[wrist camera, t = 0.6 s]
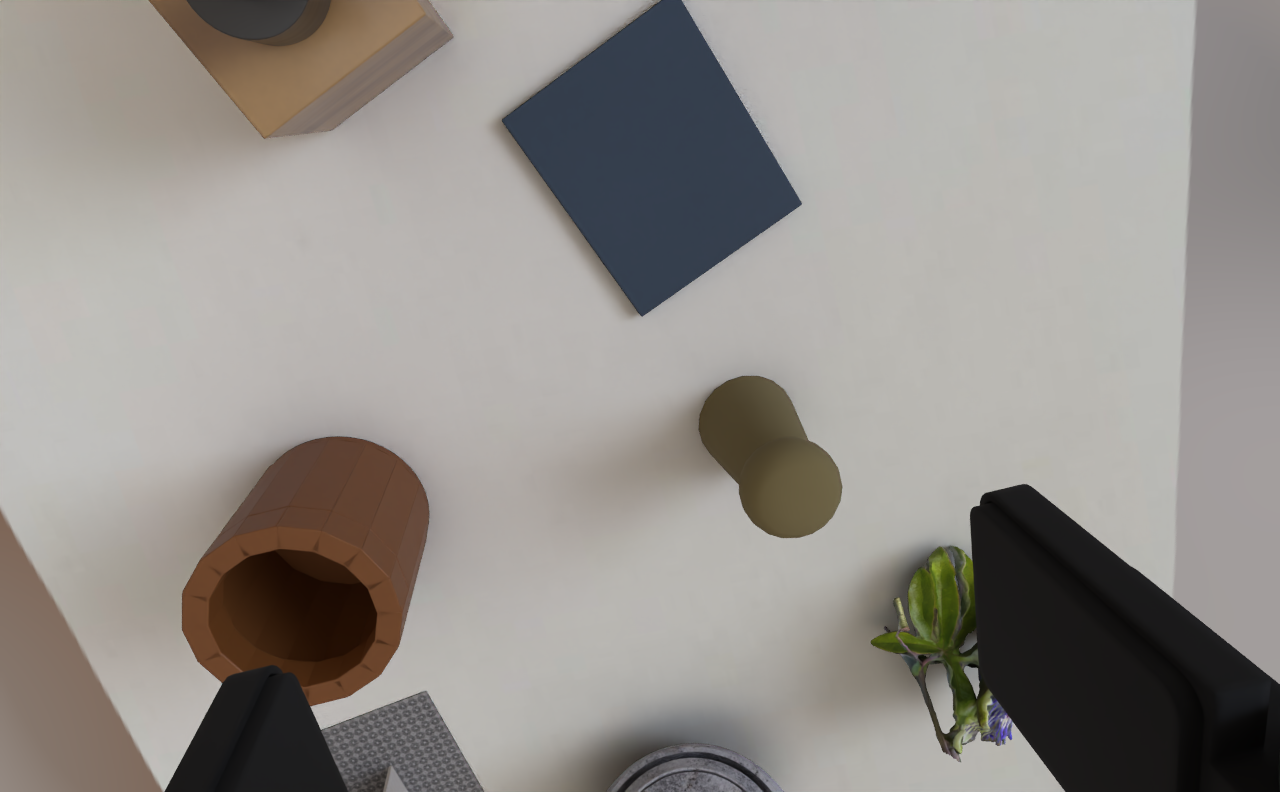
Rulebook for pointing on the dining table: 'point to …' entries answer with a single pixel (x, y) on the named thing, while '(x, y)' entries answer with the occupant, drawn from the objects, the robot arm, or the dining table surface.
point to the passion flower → (947, 647)
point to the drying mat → (654, 156)
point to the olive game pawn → (770, 457)
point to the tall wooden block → (314, 61)
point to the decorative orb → (694, 772)
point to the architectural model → (400, 751)
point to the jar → (313, 570)
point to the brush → (264, 18)
